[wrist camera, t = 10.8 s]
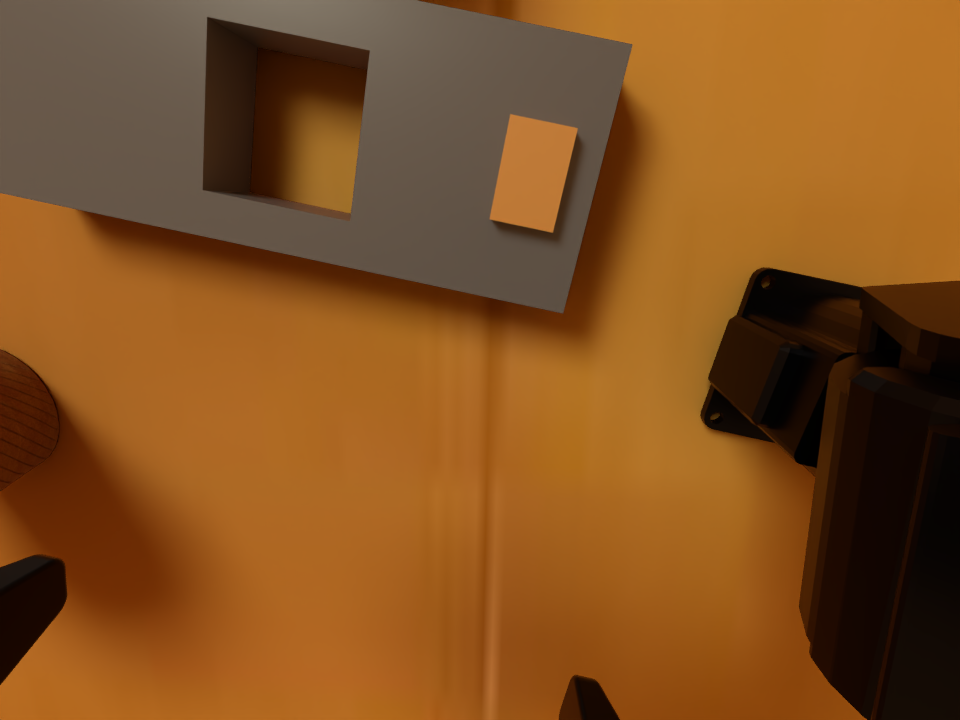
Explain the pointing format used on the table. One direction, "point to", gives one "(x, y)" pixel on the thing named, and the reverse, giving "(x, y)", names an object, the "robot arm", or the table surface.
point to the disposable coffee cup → (23, 420)
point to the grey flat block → (383, 138)
